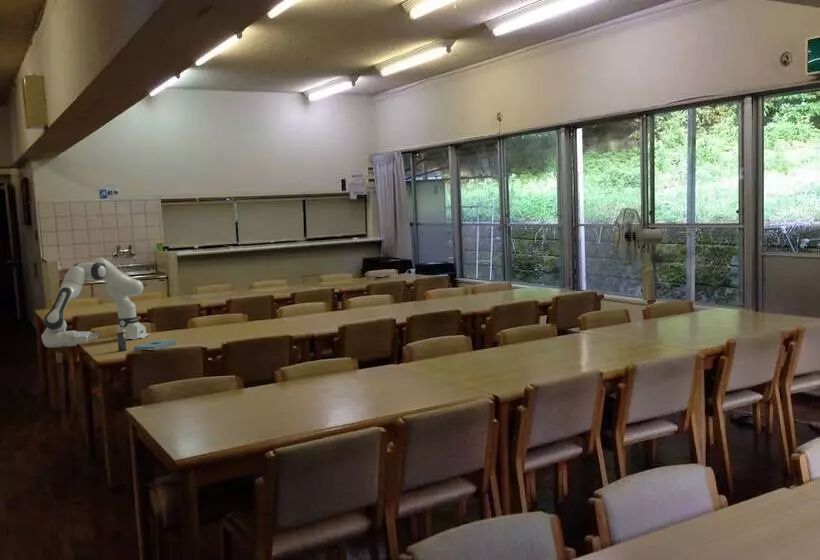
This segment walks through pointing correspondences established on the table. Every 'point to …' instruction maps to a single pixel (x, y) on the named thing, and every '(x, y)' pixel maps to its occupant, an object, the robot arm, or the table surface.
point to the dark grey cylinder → (121, 340)
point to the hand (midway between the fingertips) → (98, 335)
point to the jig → (155, 345)
